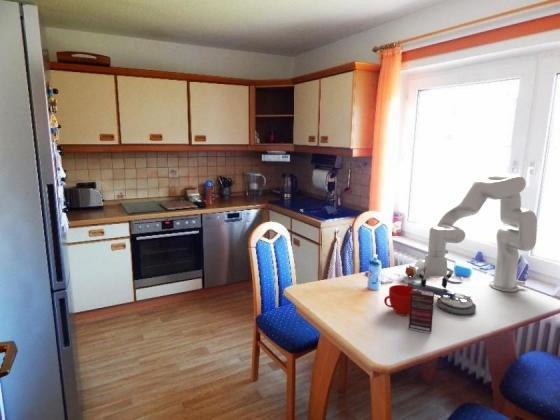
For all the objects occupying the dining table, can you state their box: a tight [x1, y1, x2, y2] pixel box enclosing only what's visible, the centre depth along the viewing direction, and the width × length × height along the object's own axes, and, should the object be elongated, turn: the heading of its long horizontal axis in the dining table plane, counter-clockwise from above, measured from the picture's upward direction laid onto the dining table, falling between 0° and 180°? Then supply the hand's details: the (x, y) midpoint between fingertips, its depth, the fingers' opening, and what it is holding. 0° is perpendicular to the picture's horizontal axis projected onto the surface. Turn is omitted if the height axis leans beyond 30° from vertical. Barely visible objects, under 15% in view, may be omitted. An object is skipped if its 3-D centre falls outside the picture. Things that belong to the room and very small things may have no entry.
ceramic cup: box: [383, 284, 416, 316], centre depth 161 cm, size 13×17×10 cm
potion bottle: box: [404, 258, 425, 278], centre depth 204 cm, size 9×10×15 cm
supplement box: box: [408, 289, 435, 334], centre depth 147 cm, size 9×5×16 cm, turn 65°
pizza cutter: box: [407, 280, 474, 309], centre depth 171 cm, size 13×28×5 cm, turn 51°
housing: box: [434, 295, 477, 317], centre depth 167 cm, size 16×16×2 cm
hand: (433, 287), depth 179 cm, fingers open, 9 cm apart
